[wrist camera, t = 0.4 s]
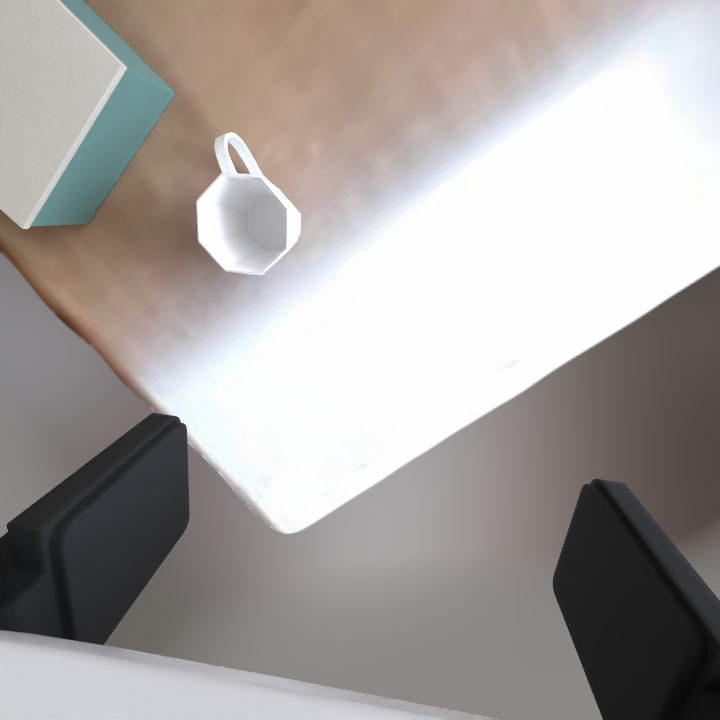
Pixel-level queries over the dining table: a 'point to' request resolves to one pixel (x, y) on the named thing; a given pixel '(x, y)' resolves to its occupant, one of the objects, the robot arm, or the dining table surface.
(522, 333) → the dining table surface
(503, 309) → the dining table surface
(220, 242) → the cup
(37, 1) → the stand
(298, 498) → the dining table surface
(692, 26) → the dining table surface
